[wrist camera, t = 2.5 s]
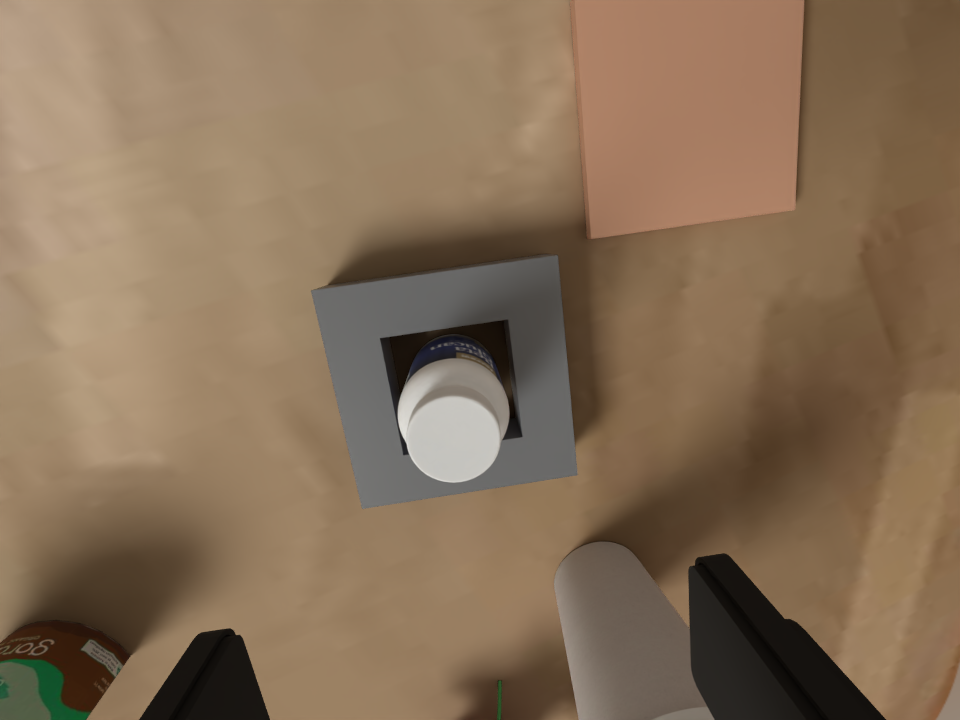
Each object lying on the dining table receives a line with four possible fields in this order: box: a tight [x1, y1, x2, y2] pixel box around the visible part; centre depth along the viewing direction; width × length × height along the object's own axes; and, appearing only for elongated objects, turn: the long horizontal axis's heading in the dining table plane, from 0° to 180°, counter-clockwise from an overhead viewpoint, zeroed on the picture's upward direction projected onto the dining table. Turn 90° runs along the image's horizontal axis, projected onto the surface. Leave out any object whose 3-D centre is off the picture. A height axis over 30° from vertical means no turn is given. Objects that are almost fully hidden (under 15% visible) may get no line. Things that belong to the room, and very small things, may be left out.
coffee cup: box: [554, 542, 714, 720], centre depth 25 cm, size 10×10×15 cm
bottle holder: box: [311, 254, 577, 509], centre depth 26 cm, size 13×13×3 cm
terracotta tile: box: [570, 0, 804, 239], centre depth 24 cm, size 12×12×1 cm
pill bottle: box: [398, 334, 509, 483], centre depth 23 cm, size 5×5×10 cm
